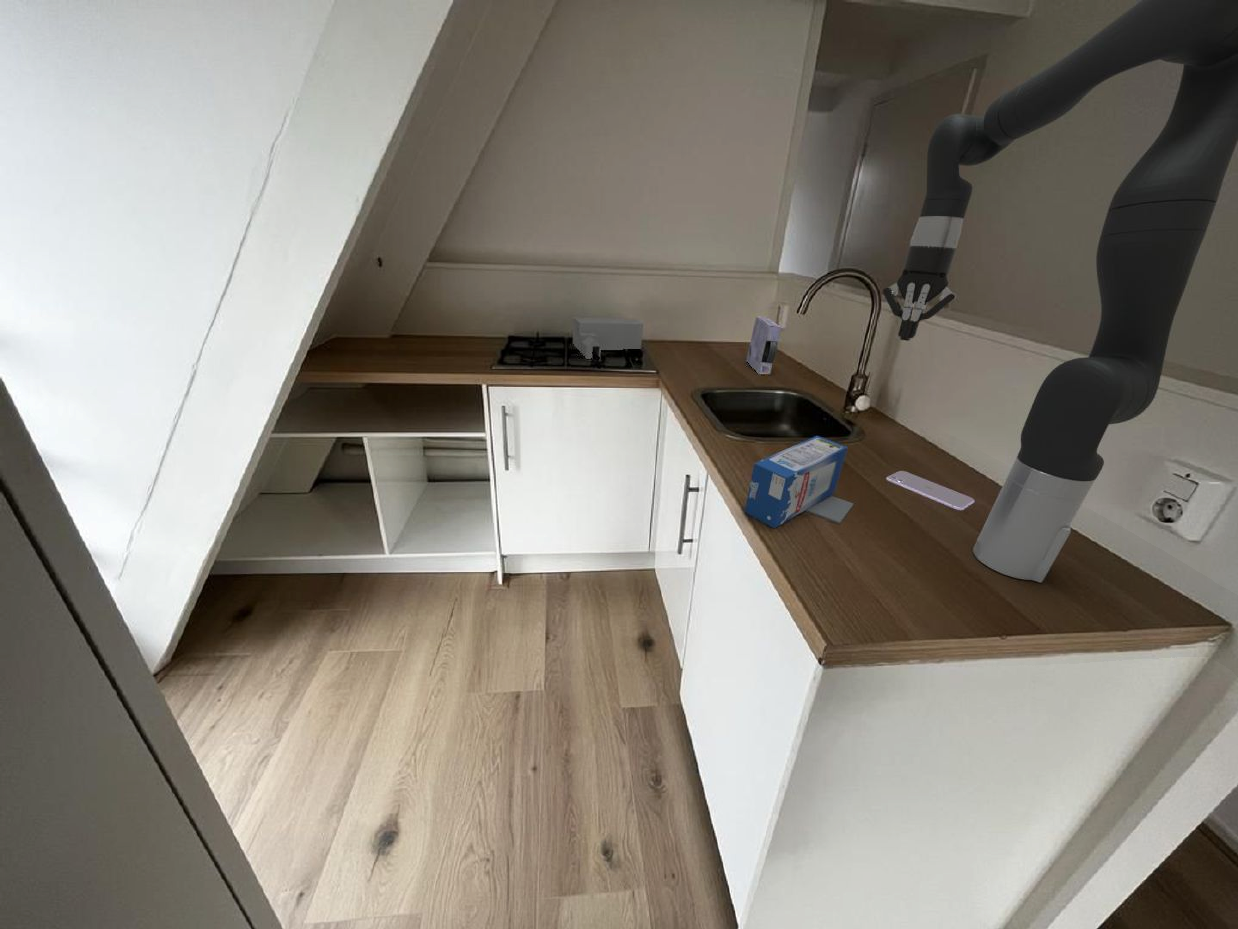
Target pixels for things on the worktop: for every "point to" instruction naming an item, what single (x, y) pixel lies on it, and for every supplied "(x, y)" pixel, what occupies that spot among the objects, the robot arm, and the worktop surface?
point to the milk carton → (794, 480)
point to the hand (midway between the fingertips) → (904, 339)
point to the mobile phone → (931, 490)
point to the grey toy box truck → (606, 334)
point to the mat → (831, 509)
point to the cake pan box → (763, 345)
